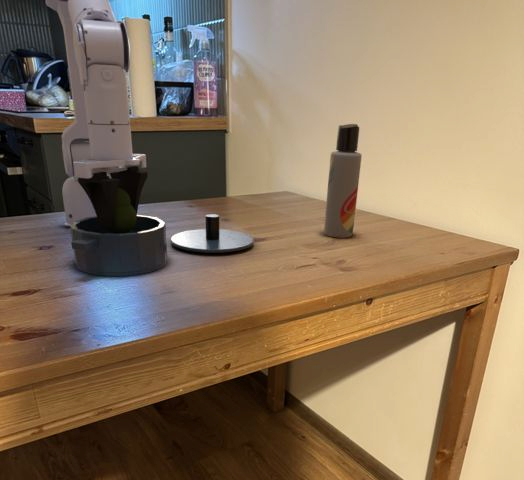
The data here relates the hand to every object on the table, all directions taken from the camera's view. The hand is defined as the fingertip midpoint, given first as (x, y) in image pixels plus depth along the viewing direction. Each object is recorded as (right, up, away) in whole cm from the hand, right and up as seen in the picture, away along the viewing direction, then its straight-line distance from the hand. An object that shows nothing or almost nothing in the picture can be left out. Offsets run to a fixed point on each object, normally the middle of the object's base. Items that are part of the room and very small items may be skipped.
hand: (118, 223), depth 75 cm
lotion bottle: (+37, +4, +24) cm, 44 cm away
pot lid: (+13, 0, +14) cm, 19 cm away
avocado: (0, -2, +1) cm, 2 cm away
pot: (0, -5, +3) cm, 6 cm away
